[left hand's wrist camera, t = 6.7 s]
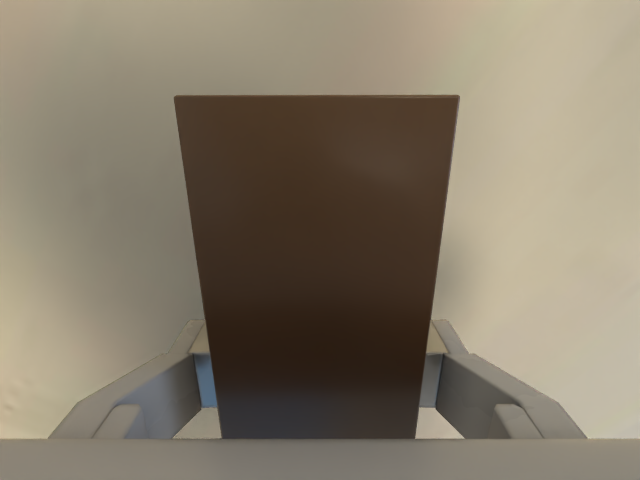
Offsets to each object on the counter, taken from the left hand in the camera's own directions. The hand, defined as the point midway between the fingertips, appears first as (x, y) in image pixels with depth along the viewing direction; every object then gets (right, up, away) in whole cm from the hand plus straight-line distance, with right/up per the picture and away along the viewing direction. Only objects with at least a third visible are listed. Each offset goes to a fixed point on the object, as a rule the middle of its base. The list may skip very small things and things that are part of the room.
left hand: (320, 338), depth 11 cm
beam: (0, -29, +14) cm, 32 cm away
